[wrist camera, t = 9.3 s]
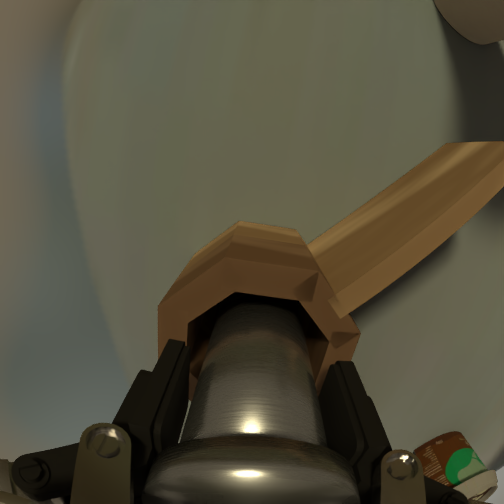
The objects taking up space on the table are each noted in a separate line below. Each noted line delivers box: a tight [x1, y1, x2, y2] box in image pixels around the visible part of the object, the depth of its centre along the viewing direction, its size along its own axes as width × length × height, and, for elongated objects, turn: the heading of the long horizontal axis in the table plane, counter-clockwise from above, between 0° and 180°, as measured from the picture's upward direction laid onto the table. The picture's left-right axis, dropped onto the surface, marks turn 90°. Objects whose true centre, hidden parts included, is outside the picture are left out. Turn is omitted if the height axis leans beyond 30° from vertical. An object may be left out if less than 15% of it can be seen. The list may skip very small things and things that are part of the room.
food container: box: [414, 431, 498, 502], centre depth 18 cm, size 12×6×10 cm, turn 49°
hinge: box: [158, 141, 504, 402], centre depth 15 cm, size 20×20×7 cm
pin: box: [141, 292, 361, 504], centre depth 10 cm, size 5×5×11 cm
